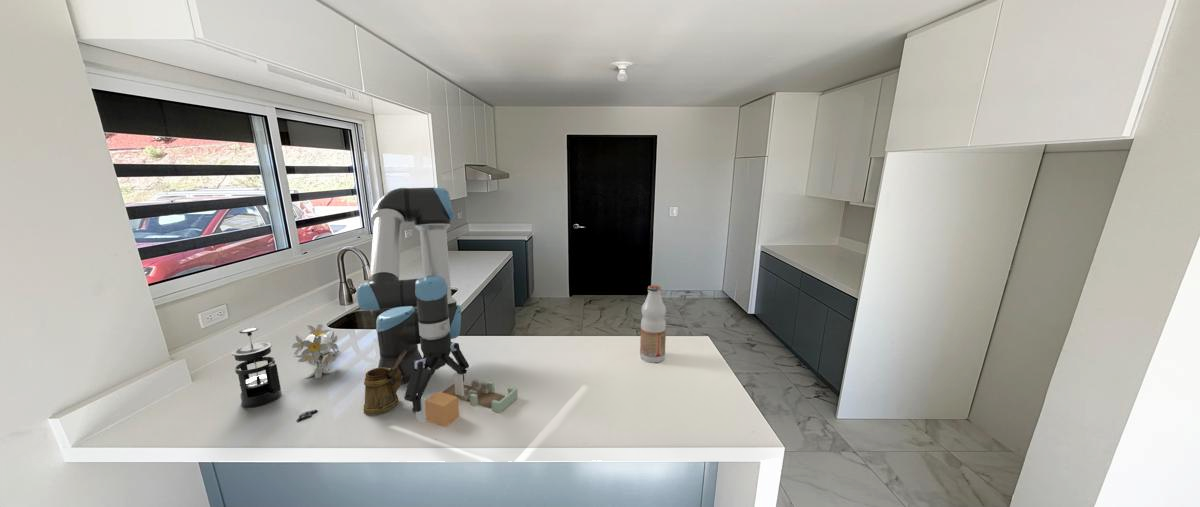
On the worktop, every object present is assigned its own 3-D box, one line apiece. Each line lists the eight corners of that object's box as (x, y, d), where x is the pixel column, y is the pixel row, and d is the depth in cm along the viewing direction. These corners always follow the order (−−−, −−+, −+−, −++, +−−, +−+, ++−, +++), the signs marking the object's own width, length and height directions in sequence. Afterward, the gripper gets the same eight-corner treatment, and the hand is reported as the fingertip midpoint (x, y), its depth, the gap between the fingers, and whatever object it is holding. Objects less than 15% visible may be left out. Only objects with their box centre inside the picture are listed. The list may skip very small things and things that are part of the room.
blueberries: (329, 413, 111) (329, 407, 111) (302, 428, 103) (302, 421, 103) (311, 410, 113) (310, 404, 112) (283, 424, 105) (282, 418, 105)
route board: (440, 396, 118) (438, 383, 117) (456, 385, 124) (455, 373, 124) (502, 414, 109) (501, 401, 108) (516, 402, 115) (516, 389, 114)
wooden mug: (405, 414, 109) (399, 356, 106) (357, 416, 108) (349, 358, 105) (418, 396, 118) (412, 343, 114) (373, 398, 117) (366, 344, 114)
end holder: (470, 404, 112) (469, 395, 112) (489, 389, 120) (489, 381, 119) (499, 413, 108) (499, 403, 107) (517, 397, 116) (517, 388, 115)
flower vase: (309, 373, 146) (302, 385, 125) (292, 328, 144) (282, 334, 123) (348, 358, 153) (347, 367, 132) (332, 315, 151) (329, 318, 130)
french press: (230, 406, 113) (215, 334, 108) (262, 389, 122) (249, 322, 118) (264, 409, 111) (250, 336, 107) (294, 392, 120) (282, 324, 116)
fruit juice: (644, 364, 138) (646, 291, 133) (636, 353, 147) (638, 284, 142) (668, 361, 140) (671, 289, 135) (659, 350, 149) (661, 282, 144)
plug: (408, 416, 108) (406, 394, 106) (423, 407, 112) (420, 386, 111) (445, 429, 102) (443, 406, 101) (459, 419, 107) (457, 396, 105)
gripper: (404, 355, 88) (413, 437, 92) (478, 321, 111) (482, 387, 114) (382, 350, 91) (392, 429, 95) (458, 317, 114) (463, 382, 117)
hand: (441, 406), depth 105 cm, fingers open, 13 cm apart
